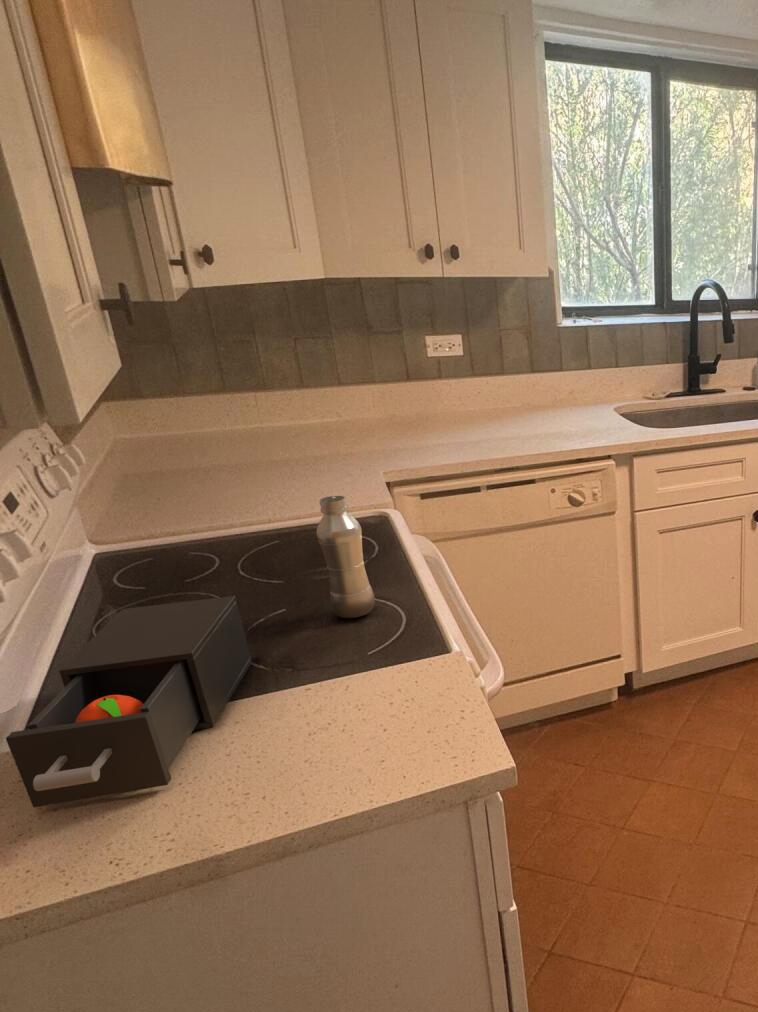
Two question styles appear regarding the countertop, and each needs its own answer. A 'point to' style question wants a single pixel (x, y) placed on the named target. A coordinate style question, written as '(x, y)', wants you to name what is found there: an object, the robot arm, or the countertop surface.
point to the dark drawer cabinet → (175, 647)
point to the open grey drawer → (107, 735)
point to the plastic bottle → (344, 559)
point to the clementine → (110, 708)
